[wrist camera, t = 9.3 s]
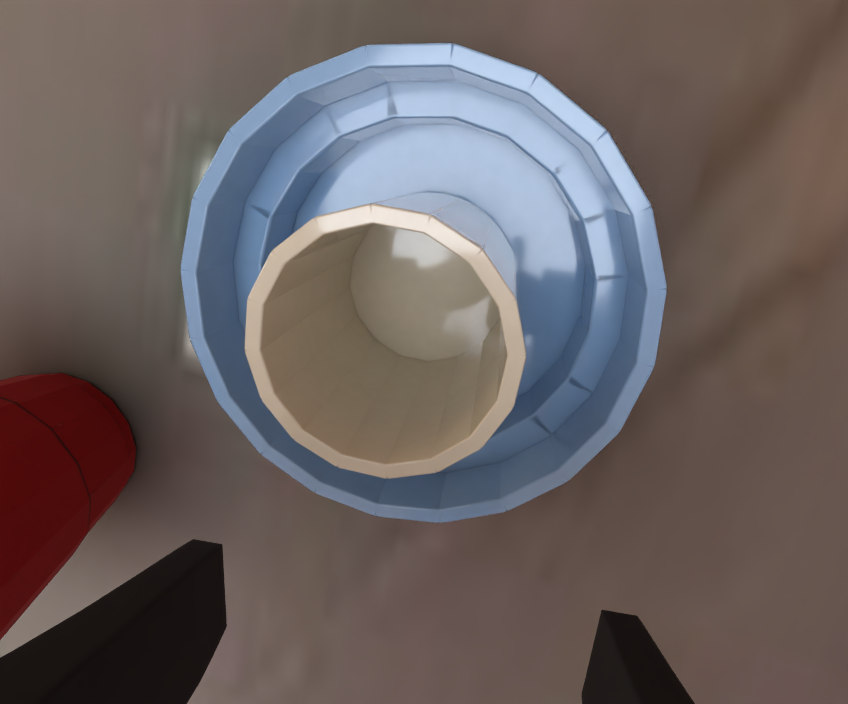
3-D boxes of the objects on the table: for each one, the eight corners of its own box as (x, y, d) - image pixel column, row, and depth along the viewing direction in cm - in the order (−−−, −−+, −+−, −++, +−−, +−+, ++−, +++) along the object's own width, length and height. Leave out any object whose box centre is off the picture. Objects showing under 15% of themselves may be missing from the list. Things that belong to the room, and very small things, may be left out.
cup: (551, 307, 17) (580, 395, 10) (410, 393, 18) (355, 518, 12) (451, 153, 16) (410, 140, 9) (311, 259, 17) (190, 313, 11)
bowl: (695, 333, 17) (759, 388, 12) (394, 496, 20) (364, 582, 16) (485, -19, 14) (476, -98, 10) (190, 233, 18) (92, 251, 14)
